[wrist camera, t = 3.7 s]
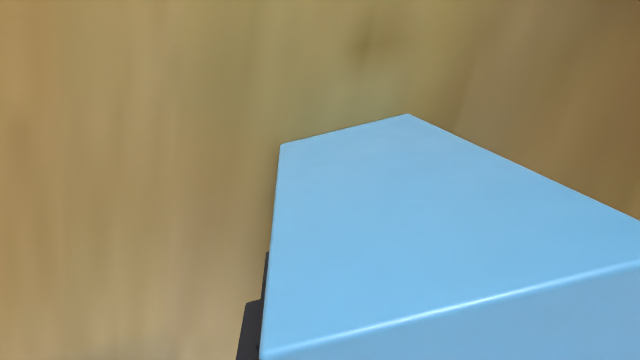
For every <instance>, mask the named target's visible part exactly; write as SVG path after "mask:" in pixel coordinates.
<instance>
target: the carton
mask: <svg viewBox="0 0 640 360" xmlns="http://www.w3.org/2000/svg"><path fill="white" fill-rule="evenodd" d="M259 360H640V221H639V220H637V219H635V218H633V217H631V216H629V215H626V214H624V213H622V212H620V211H618V210H616V209H613V208H611V207H609V206H607V205H605V204H603V203H600V202H598V201H596V200H594V199H592V198H590V197H588V196H585V195H583V194H581V193H579V192H577V191H575V190H572V189H570V188H568V187H566V186H564V185H562V184H559V183H557V182H555V181H553V180H551V179H549V178H546V177H544V176H542V175H540V174H538V173H536V172H534V171H531V170H529V169H527V168H525V167H523V166H521V165H518V164H516V163H514V162H512V161H510V160H508V159H505V158H503V157H501V156H499V155H497V154H495V153H493V152H490V151H488V150H486V149H484V148H482V147H480V146H477V145H475V144H473V143H471V142H469V141H467V140H464V139H462V138H460V137H458V136H456V135H454V134H451V133H449V132H447V131H445V130H443V129H441V128H439V127H436V126H434V125H432V124H430V123H428V122H426V121H423V120H421V119H419V118H417V117H415V116H413V115H410V114H403V115H399V116H395V117H391V118H387V119H383V120H379V121H375V122H371V123H366V124H362V125H358V126H354V127H350V128H346V129H342V130H338V131H333V132H329V133H325V134H321V135H317V136H313V137H309V138H305V139H300V140H296V141H292V142H288V143H284V144H281V145H280V152H279V162H278V172H277V182H276V191H275V201H274V211H273V221H272V231H271V240H270V250H269V260H268V270H267V280H266V289H265V299H264V309H263V319H262V328H261V338H260V348H259Z"/></svg>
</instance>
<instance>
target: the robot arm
mask: <svg viewBox="0 0 640 360" xmlns="http://www.w3.org/2000/svg"><path fill="white" fill-rule="evenodd" d="M268 260H269V252H266V259H265V267H264V276H263V284H262V293H261V299H260V300H256V301H252V302H248V303H246V306H245V311H244V316H243V322H242V328H241V333H240V339H239V345H238V350H237V356H236V360H259V348H260V338H261V328H262V319H263V309H264V299H265V289H266V280H267V270H268Z"/></svg>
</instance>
